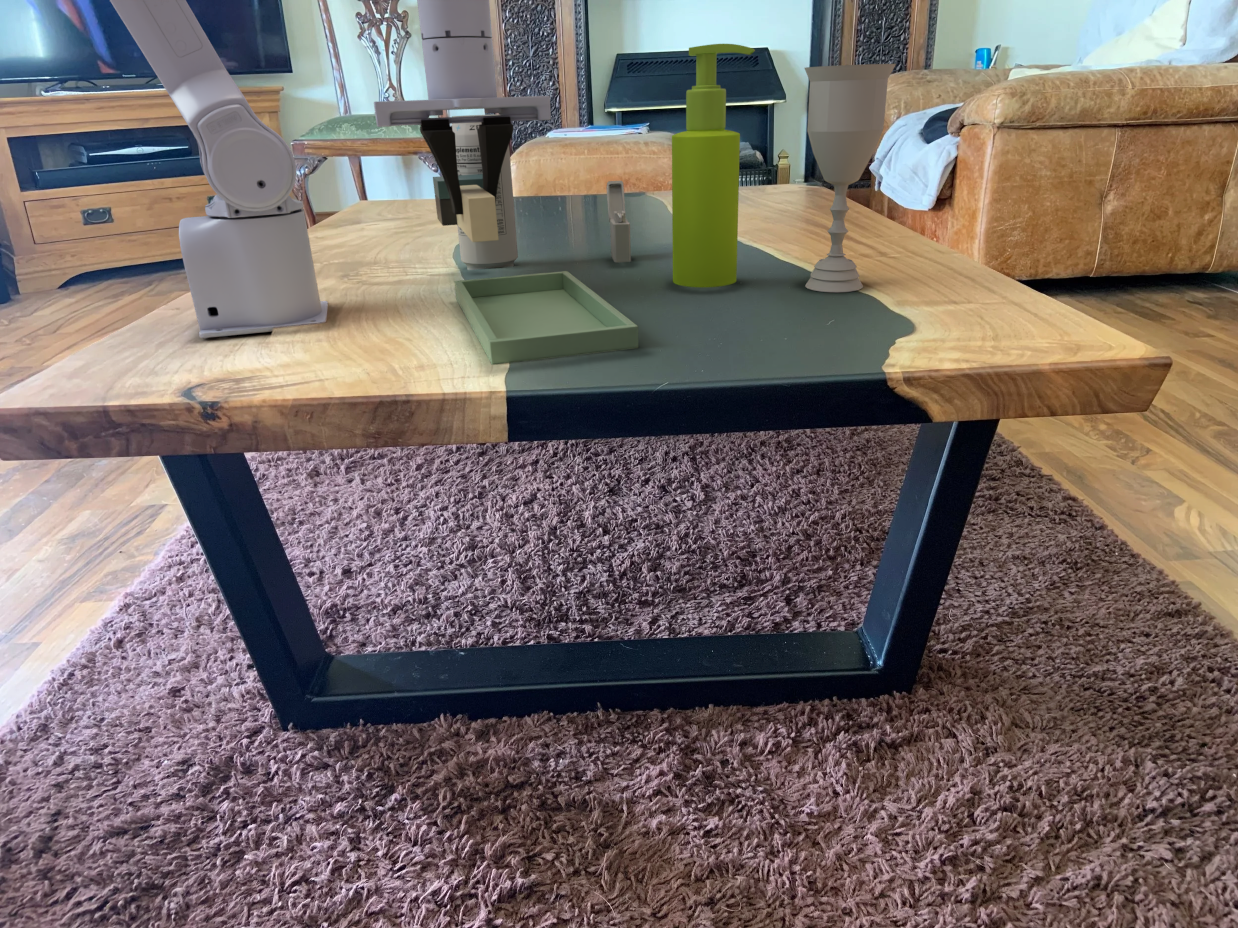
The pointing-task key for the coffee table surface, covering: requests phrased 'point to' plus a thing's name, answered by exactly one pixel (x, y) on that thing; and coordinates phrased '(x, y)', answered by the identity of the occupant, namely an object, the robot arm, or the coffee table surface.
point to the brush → (468, 208)
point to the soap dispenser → (706, 180)
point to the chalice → (843, 150)
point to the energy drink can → (506, 246)
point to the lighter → (618, 222)
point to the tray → (541, 317)
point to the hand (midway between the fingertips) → (474, 212)
